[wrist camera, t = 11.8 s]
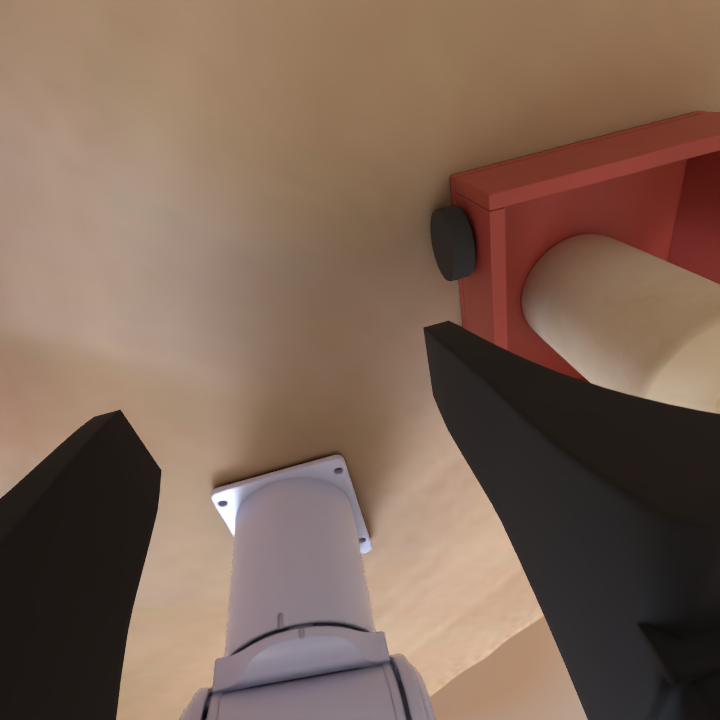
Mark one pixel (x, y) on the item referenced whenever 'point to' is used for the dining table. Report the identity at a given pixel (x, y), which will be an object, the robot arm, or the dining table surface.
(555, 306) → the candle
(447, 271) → the cart wheels
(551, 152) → the cart
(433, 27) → the dining table surface
